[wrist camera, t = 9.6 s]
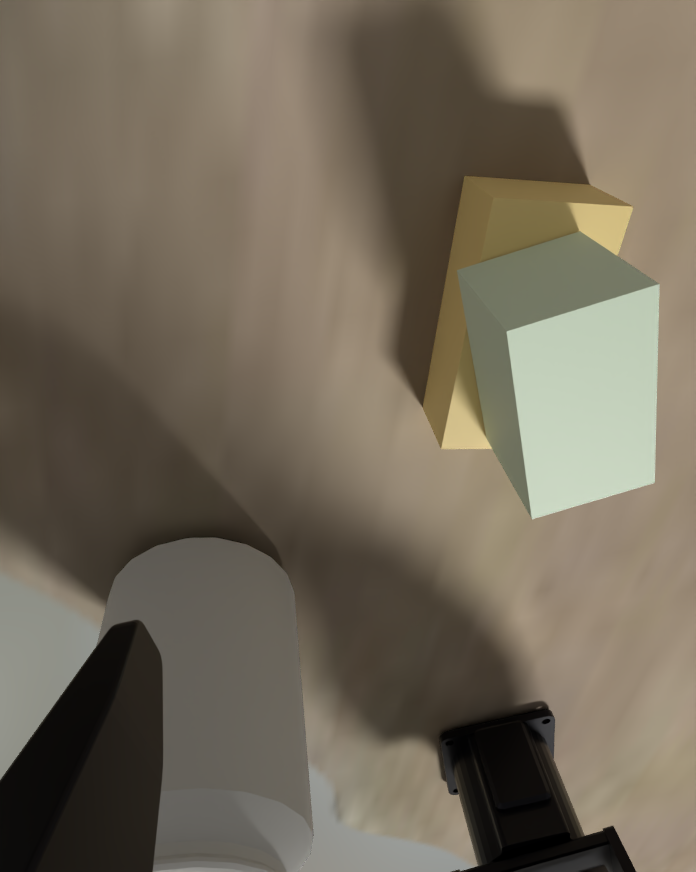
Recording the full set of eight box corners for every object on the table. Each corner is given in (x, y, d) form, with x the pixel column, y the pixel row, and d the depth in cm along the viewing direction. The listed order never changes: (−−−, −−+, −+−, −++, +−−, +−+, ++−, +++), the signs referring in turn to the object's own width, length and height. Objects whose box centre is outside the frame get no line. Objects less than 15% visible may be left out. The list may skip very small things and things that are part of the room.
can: (89, 534, 24) (-20, 894, 14) (283, 510, 25) (306, 840, 15) (136, 656, 28) (77, 998, 19) (301, 633, 29) (328, 952, 19)
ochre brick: (522, 403, 24) (554, 448, 21) (420, 402, 23) (441, 449, 21) (584, 181, 19) (633, 206, 17) (461, 173, 19) (493, 197, 16)
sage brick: (589, 407, 21) (654, 482, 17) (486, 438, 21) (531, 518, 17) (580, 231, 17) (659, 284, 14) (456, 270, 17) (506, 331, 14)
